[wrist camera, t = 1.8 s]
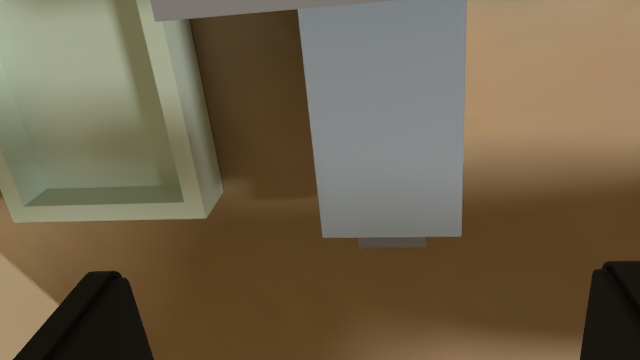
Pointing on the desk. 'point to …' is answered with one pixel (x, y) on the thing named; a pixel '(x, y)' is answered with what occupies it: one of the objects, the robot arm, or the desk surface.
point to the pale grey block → (387, 118)
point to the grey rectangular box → (234, 7)
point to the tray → (102, 114)
